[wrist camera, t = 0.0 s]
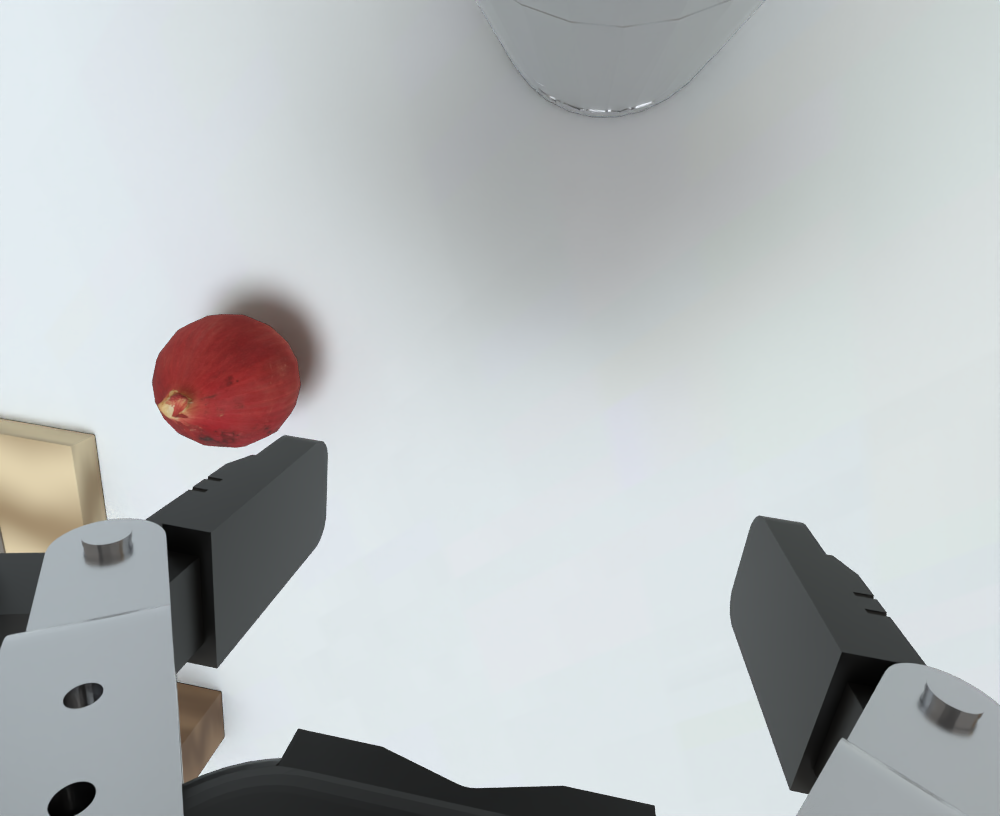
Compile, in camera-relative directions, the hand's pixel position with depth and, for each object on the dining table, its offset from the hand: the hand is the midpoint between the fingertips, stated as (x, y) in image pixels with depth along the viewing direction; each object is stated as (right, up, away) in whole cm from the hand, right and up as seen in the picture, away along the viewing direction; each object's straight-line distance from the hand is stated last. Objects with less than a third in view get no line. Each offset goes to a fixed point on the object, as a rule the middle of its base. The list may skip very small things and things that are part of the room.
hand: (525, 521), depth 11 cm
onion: (-12, +5, +19) cm, 23 cm away
